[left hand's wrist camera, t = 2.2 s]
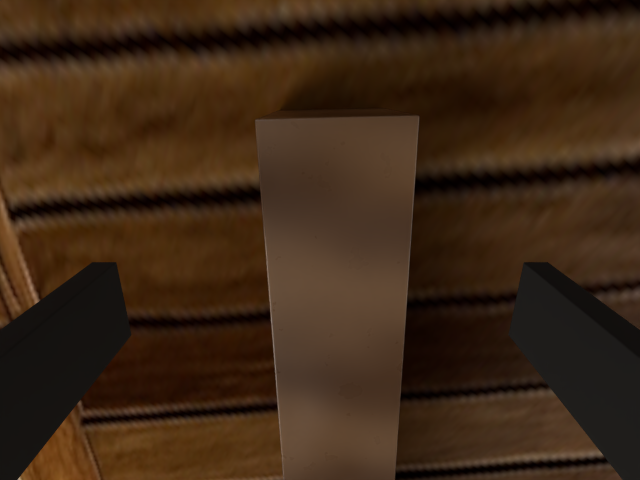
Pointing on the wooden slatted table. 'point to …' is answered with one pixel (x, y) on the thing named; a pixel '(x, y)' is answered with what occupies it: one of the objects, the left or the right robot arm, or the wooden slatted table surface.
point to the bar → (338, 283)
